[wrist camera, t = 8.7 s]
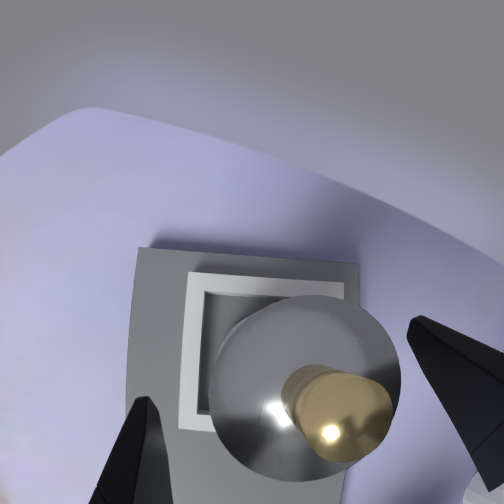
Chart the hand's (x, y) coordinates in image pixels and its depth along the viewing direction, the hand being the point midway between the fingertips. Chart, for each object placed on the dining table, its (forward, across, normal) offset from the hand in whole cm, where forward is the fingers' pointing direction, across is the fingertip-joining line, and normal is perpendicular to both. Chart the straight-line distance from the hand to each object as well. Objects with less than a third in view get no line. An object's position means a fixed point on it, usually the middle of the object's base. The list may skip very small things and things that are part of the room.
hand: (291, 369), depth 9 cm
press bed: (+5, +2, +10) cm, 11 cm away
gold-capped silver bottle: (+6, 0, +6) cm, 9 cm away
